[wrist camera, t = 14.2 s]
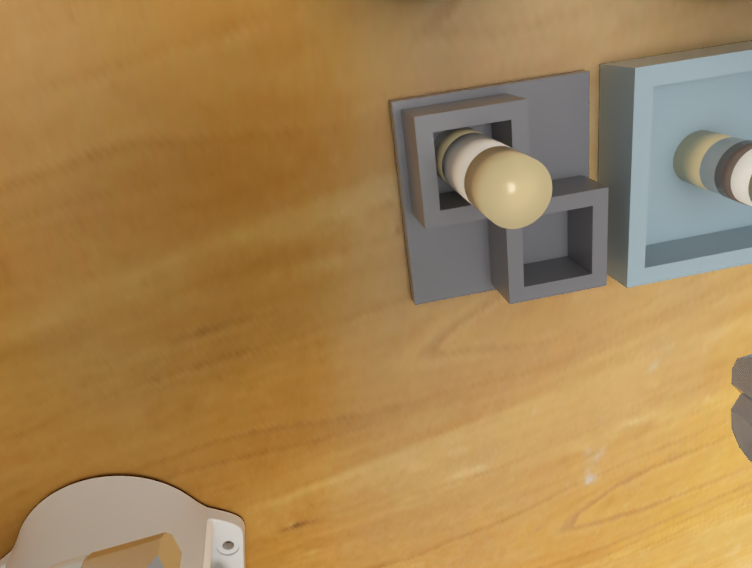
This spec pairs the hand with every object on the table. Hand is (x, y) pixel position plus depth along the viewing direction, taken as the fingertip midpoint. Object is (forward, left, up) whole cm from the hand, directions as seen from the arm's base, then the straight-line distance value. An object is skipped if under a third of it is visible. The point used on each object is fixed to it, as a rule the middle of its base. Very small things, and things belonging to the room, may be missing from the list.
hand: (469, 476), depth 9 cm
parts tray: (-6, -26, -32) cm, 42 cm away
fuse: (-3, -9, -31) cm, 33 cm away
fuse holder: (-6, -11, -32) cm, 35 cm away
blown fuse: (-6, -26, -32) cm, 41 cm away
